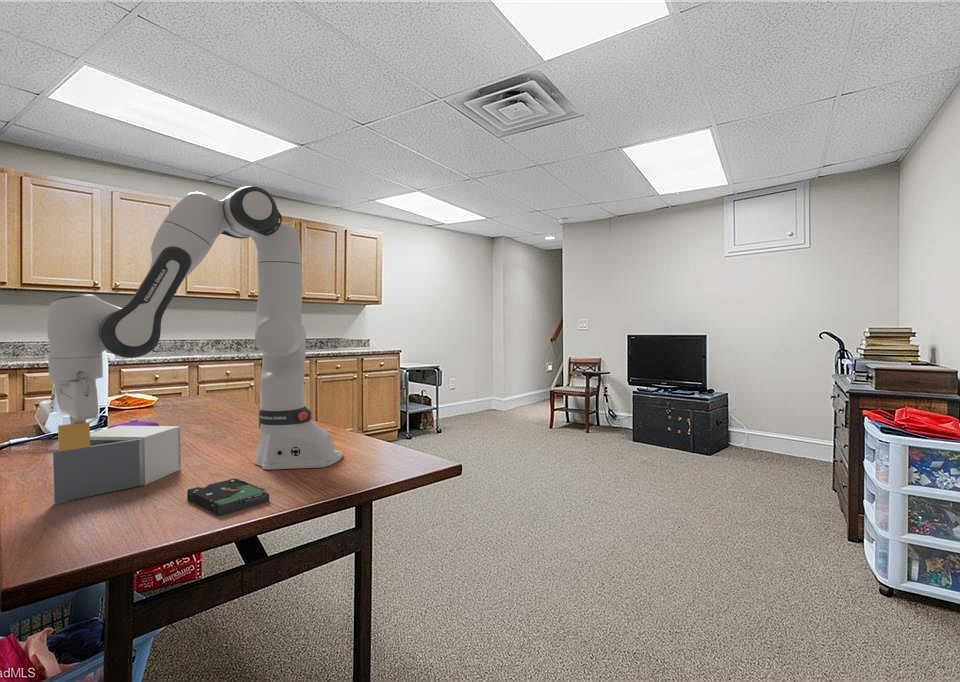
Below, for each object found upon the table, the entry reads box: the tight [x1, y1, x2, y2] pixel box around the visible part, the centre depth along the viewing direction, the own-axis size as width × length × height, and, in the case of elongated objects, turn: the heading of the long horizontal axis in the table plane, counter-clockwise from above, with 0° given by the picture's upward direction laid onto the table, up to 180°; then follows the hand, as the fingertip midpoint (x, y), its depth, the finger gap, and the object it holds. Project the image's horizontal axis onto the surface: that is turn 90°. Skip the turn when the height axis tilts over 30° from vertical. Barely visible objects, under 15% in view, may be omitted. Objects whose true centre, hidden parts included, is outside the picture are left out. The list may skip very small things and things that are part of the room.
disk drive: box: [186, 478, 270, 517], centre depth 101 cm, size 10×3×15 cm
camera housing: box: [90, 425, 182, 486], centre depth 118 cm, size 16×13×11 cm
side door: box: [52, 421, 145, 504], centre depth 105 cm, size 15×1×16 cm, turn 138°
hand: (78, 435), depth 104 cm, fingers closed
